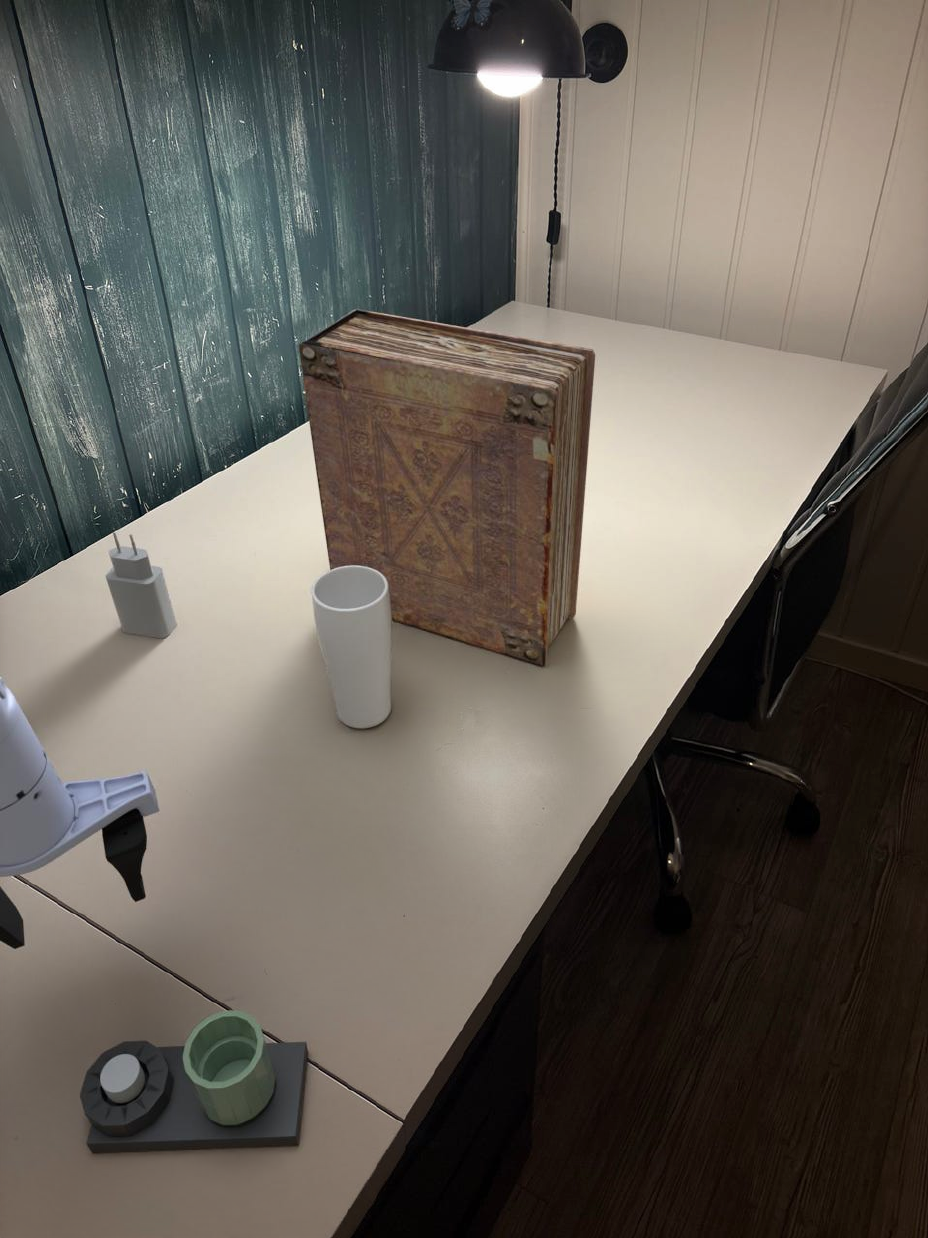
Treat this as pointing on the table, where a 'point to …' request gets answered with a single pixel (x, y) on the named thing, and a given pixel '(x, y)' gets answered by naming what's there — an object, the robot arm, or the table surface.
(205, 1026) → the green faceted cup
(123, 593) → the power adapter
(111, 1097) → the button
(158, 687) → the table surface
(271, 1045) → the scale
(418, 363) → the book
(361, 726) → the drinking glass
